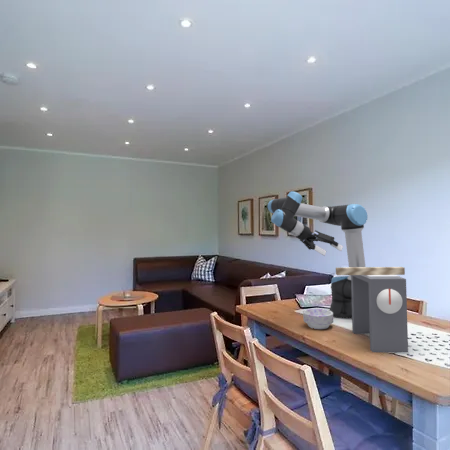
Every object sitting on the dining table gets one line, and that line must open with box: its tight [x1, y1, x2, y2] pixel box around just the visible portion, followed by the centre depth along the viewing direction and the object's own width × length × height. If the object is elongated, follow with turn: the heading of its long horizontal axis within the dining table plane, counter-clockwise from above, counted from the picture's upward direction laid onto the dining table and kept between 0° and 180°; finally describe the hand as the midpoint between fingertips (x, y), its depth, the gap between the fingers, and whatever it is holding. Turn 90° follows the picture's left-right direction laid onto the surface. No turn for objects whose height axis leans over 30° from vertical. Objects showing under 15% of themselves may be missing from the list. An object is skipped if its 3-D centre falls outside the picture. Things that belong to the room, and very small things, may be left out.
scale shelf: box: [351, 275, 409, 353], centre depth 151 cm, size 14×29×31 cm, turn 175°
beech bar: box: [335, 266, 406, 276], centre depth 146 cm, size 28×3×3 cm, turn 85°
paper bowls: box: [302, 308, 334, 330], centre depth 176 cm, size 15×15×8 cm
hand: (333, 251), depth 172 cm, fingers open, 13 cm apart
